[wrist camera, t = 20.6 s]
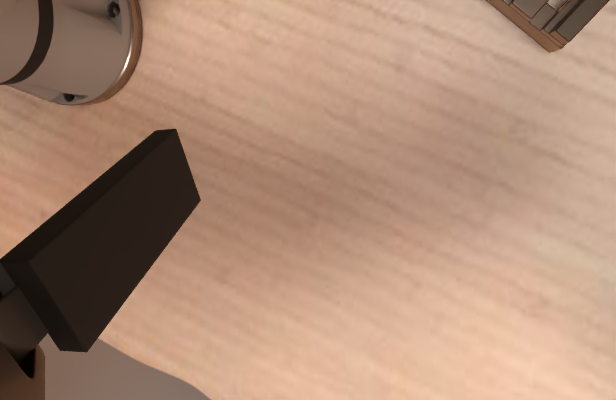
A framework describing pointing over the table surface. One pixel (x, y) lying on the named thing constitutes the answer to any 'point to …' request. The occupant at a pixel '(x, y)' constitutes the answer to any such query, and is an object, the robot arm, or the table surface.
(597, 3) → the drying rack
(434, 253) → the table surface
